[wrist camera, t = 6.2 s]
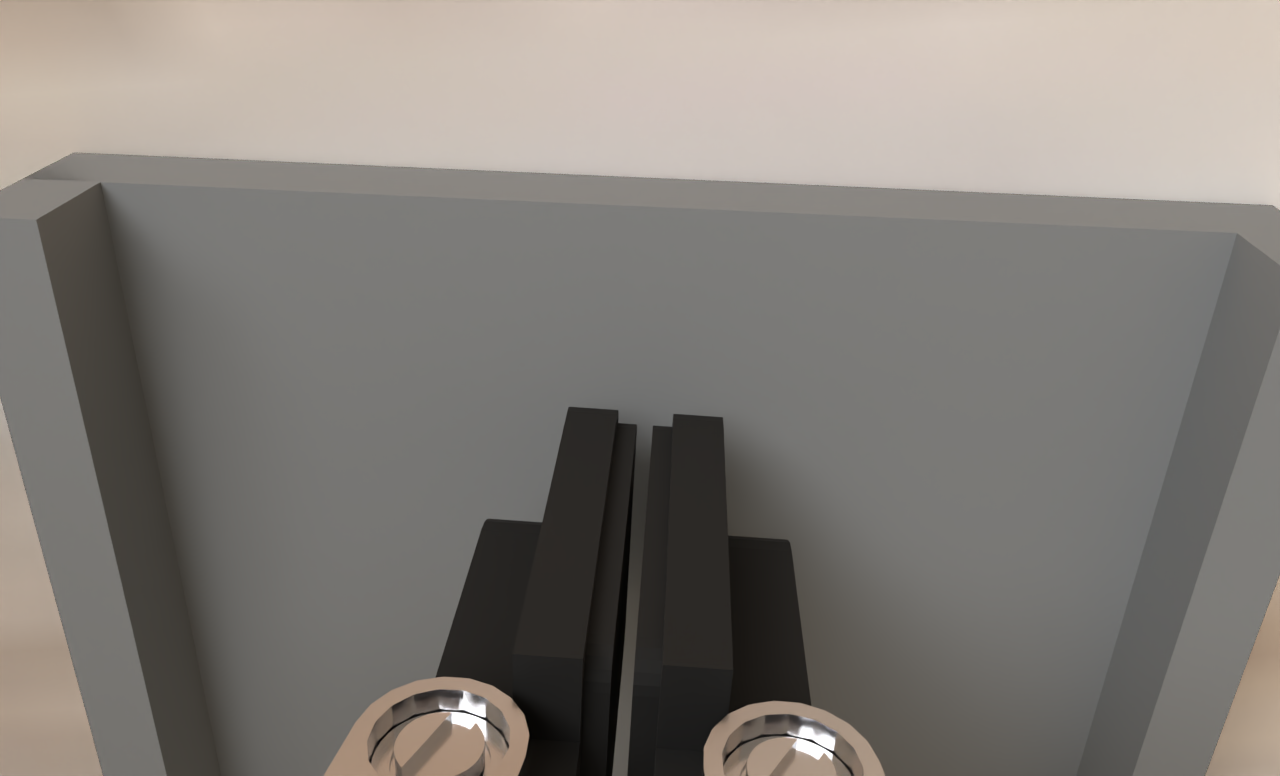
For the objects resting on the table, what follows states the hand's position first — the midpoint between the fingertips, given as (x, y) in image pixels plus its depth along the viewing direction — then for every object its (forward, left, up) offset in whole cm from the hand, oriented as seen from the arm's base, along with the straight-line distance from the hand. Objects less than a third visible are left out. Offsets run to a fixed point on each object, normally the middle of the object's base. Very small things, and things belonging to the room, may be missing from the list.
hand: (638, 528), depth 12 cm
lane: (+7, 0, -2) cm, 7 cm away
